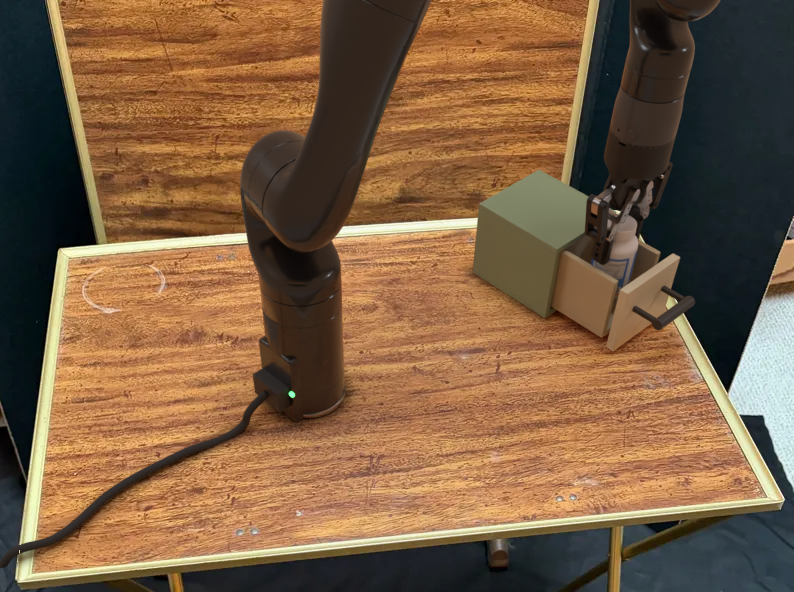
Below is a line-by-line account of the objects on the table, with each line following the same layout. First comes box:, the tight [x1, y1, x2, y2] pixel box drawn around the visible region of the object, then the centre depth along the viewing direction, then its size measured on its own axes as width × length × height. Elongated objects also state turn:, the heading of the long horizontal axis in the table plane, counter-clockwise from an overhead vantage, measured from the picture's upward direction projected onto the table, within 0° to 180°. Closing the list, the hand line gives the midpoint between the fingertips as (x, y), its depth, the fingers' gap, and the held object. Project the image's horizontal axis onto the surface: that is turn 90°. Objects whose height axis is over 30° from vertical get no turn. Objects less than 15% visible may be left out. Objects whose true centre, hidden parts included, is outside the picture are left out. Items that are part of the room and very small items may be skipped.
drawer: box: [550, 235, 696, 352], centre depth 127 cm, size 17×11×9 cm, turn 44°
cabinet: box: [472, 169, 617, 319], centre depth 133 cm, size 14×12×11 cm
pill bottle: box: [591, 212, 638, 297], centre depth 125 cm, size 6×5×10 cm
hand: (614, 251), depth 124 cm, fingers closed on pill bottle, 5 cm apart
